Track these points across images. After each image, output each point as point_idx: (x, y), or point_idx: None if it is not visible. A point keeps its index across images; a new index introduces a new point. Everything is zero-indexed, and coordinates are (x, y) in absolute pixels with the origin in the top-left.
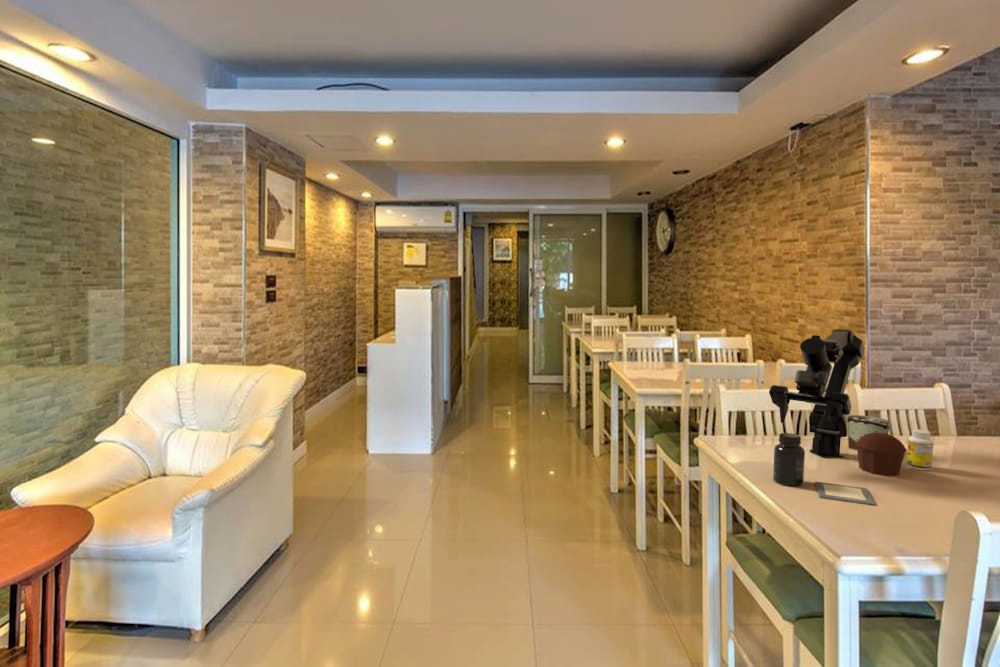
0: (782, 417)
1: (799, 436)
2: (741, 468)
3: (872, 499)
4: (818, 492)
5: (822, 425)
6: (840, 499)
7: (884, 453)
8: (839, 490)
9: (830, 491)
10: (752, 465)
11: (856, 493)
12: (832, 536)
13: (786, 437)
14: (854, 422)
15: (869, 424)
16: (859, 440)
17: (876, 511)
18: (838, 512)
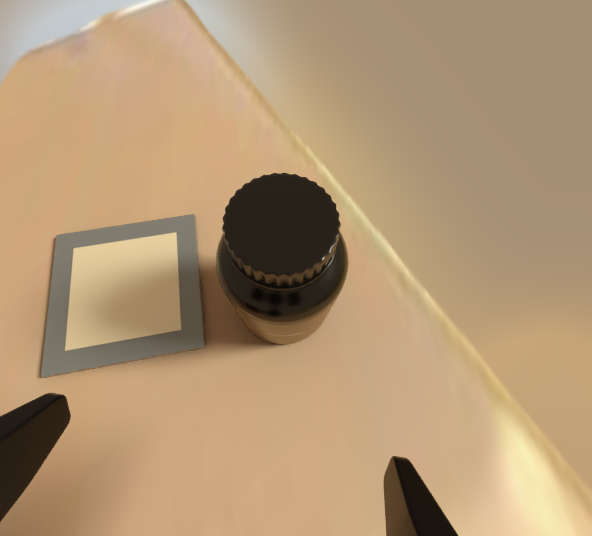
0: (407, 488)
1: (228, 219)
2: (450, 364)
3: (53, 267)
4: (196, 242)
5: (20, 411)
6: (143, 223)
7: None
8: (135, 292)
9: (162, 266)
10: (434, 438)
11: (88, 293)
12: (180, 43)
13: (293, 174)
14: None
15: None
16: None
17: (68, 198)
18: (158, 147)
